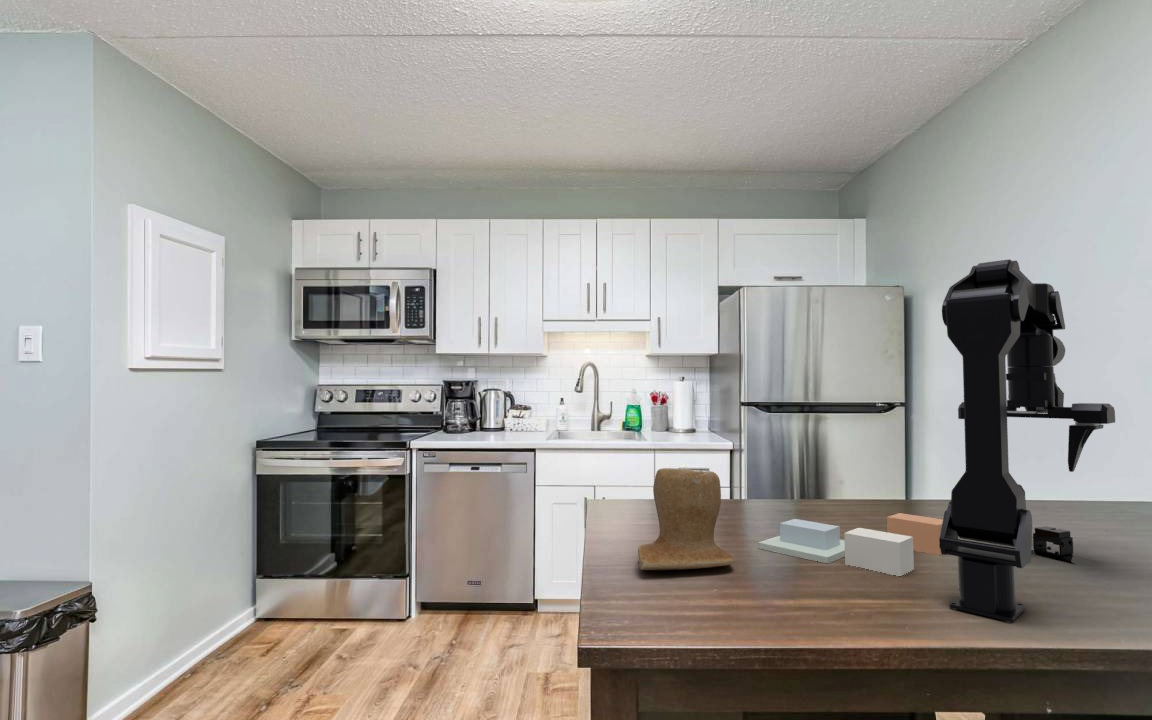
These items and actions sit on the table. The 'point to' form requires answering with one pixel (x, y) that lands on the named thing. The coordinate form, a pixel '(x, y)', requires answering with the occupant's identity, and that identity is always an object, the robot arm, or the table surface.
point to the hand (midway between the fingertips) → (1033, 468)
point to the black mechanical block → (1057, 538)
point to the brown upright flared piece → (685, 522)
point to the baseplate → (803, 550)
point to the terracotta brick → (917, 531)
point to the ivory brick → (879, 551)
